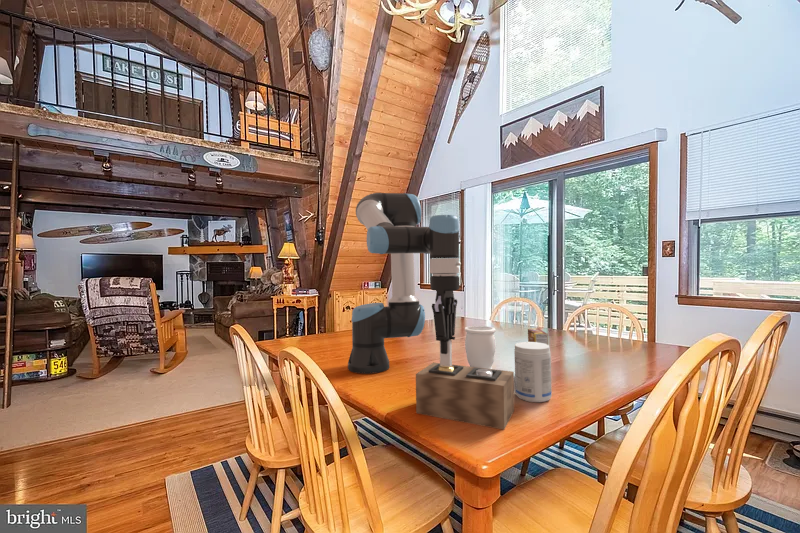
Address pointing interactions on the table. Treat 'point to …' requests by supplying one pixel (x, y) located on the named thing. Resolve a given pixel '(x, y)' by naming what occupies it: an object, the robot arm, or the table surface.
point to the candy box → (537, 336)
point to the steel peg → (484, 372)
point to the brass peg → (446, 368)
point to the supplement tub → (533, 371)
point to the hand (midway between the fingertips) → (446, 365)
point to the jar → (480, 346)
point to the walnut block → (466, 395)
